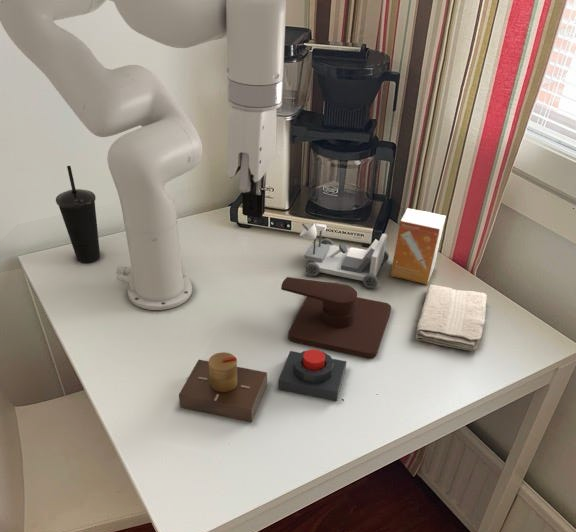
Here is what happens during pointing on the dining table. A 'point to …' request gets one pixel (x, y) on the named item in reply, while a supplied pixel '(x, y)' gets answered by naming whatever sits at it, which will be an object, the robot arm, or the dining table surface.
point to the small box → (417, 245)
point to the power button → (313, 359)
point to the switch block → (312, 377)
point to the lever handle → (337, 318)
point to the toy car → (344, 257)
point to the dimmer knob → (223, 372)
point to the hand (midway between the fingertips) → (253, 214)
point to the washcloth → (452, 317)
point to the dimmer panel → (224, 393)
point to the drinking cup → (80, 221)
